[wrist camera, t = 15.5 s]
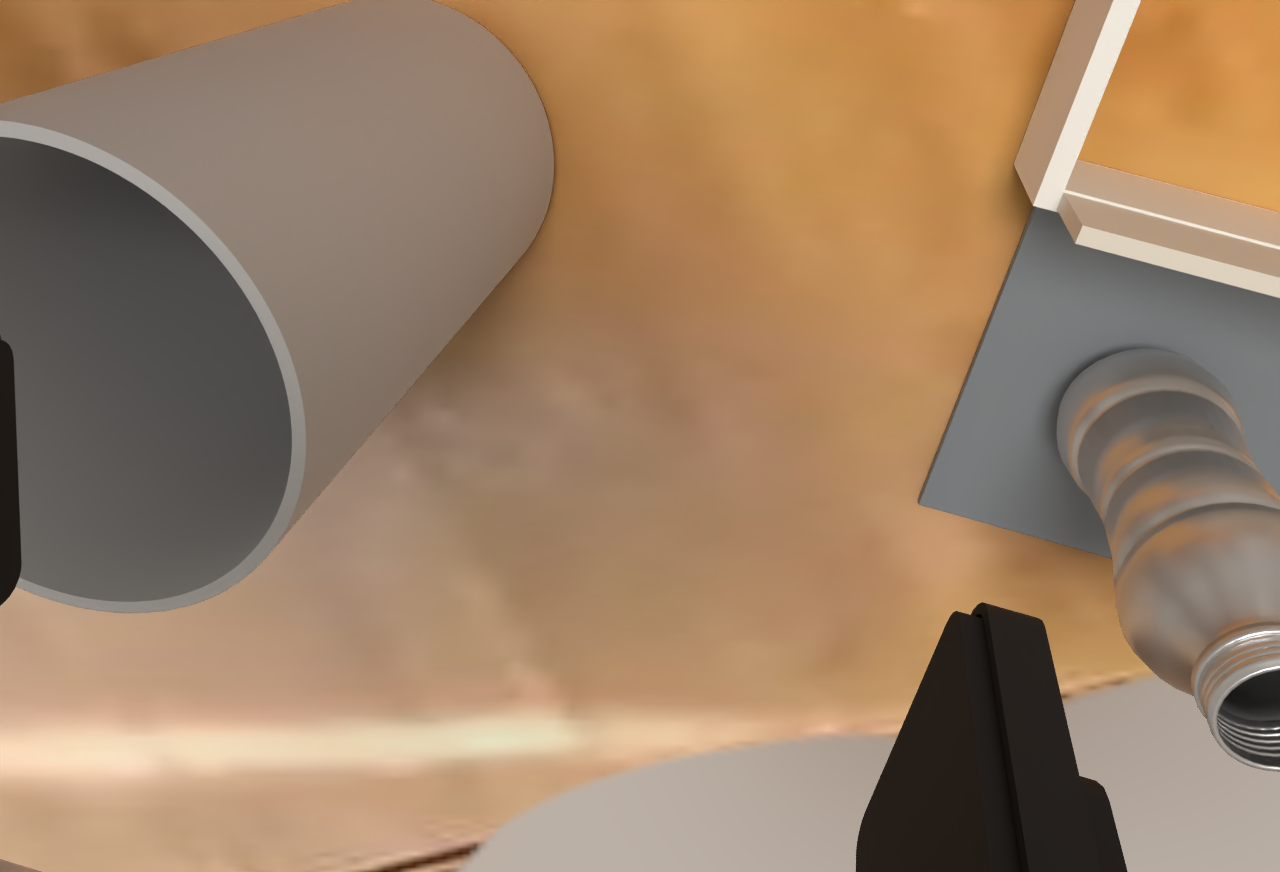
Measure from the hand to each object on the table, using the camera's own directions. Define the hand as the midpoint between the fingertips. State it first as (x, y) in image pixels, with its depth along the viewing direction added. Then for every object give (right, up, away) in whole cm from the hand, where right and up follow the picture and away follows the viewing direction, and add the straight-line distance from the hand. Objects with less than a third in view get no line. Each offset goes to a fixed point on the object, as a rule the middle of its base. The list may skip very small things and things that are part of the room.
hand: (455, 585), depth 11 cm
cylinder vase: (-8, +14, +38) cm, 41 cm away
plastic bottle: (+22, +3, +37) cm, 44 cm away
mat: (+23, +3, +38) cm, 44 cm away
